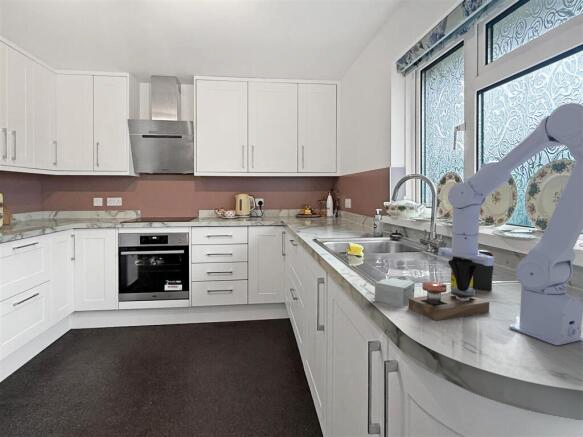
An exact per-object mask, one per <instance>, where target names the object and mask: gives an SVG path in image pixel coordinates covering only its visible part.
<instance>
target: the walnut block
mask: <svg viewBox="0 0 583 437" xmlns="http://www.w3.org/2000/svg"><path fill="white" fill-rule="evenodd" d="M407 305H408V307H407V308H408V309H409V310H410V311H413V312H416V313H418V314H420V315H422V316H424V317H427V318H429V319H431V320H433V321H435V322H438V321H446V320H450V319H457V318H461V317H462V318H463V317H468V316H474V315H480V314H482V315H483V314H487V313H490V301H488V300H484V299H482V298H478V297H475V296H474V297H470V299H469V301H465V302H463V301H460V300H457V299H456V295H453V294H451V292H445V293H441V303H440V304H431V303H428V302H427V295H424V296H418V297H415V296H414V298H409V303H408V304H407Z"/></svg>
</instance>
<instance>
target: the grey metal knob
mask: <svg viewBox="0 0 583 437" xmlns="http://www.w3.org/2000/svg"><path fill="white" fill-rule="evenodd" d="M450 293H451V294H453V295H456V299H457V300H460V301H463V302H465V301H469V299H470V297H475V296H476V289H472V288H468V290H459V289H458V288H457V286H455V287H451V286H450Z"/></svg>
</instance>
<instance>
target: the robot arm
mask: <svg viewBox="0 0 583 437" xmlns="http://www.w3.org/2000/svg"><path fill="white" fill-rule="evenodd" d="M560 146H565V147H566V148H567V149H568V150H569V152H570V154H571V155H572V156H573V158H574V160H575V161H576V162H575V163H574V164H575V165H574V167H573V169H572V171H571V173H570V175H569V177H568V179H567V182H566V184H565V186H564V187H563V188H564V189H563V191H562V192H561V194H560V196H559V199H558V201H557V204H556V206H555V207H554V210H553V212H552V214H551V216H550V219H549V220H548V223H547V225H546V226H545V227H546V228H545V229H544V231H543V233H542V236H541V238H540V239H539V241H537V243H536V244H534V245H533V246H532V247H531V248H530V249H529V251H528V253H527V254H526V256H525V257H524V258H523V259H521V260H520V261H518V263H517V265H516V266H515V277H516V279H517V281H518V282H519V284H520V285H521V287H520V288H521V289H520V291H521V292H520V308H519V309H520V310H519V323H514V324H509V325H508V327H509V329H512V330H515V331H517V332H520V333H522V334H525V335H528V336H530V337H533V338H535V339H537V340H541V341H543V342H545V343H549V344H550V345H553V346H560V345H561V346H562V345H565V344H570V343H574V342H579V341H582V340H583V336H582V323H583V305H582V302H581V300H580V299H579V298H577V297H575V296H572V295H570V294H569V293H567V287H566V283H568V282H569V281H570V280H571V278H572V277H573V273H574V268H573V263H574V260H575V258H576V253H575V251H574V248H575V247H576V243H577V241H578V240H579V238H580V236H581V234H582V232H583V105H582V104H580V103H576V102H569V103H565V104H562V105H560V106H558V107H557V108H555V109H554V110H553V111H552V112H550V115H547V116H545V117H543V118H542V119H540V121H539V123H538V124H537V125H536V127H535V128H534V129H533V130H531V132H529V133H528V134H527V135H526V136H525V137H523V139H522V140H520V141H519V142H518V143H517V144H516V145H515V146H513V148H512V149H510V150H509V151H508V152H507V153H506V154H505V155H504V156H502V157H501V158H500V159H499V160H498V161H497V160H490V161H488V162H483V163H482V164H481V165H480V169H479V170H478V171H476V172H475V173H474V174H472V175H471V176H468V177H466V178H465V180H464V182H458V183H455V184H454V185H453V186H452V187H451V188H450V189H449V192H448V194H447V195H448V196H447V197H448V202H449V203H450V205H451V206H452V222H451V224H452V228H451V229H452V231H451V232H452V233H451V248H450V247H438V256H439V257H440V256H441V257H442V256H443V257H449V258H452V259H449V260H448V265H449V267H450V268H451V269H452V271H453V273H454V276H455V279H456V284H457V288H458V289H459V290H468V288H469V285H470V282H471V279H472V277H473V275H474V273H475V272H476V270H477V269H478V267H479V266H480V264H484V265H485V266H493V265H494V266H495V256H494V257H492V256H488V255H484V254H481V253H479V252H478V250H479V232H480V231H479V229H480V228H479V227H480V214H481V208H482V206H483V205H484V204H485V202H486V200H487V197H490V195H491V194H493V193H494V192H495V191H497V190H498V189H500V188H501V187H502V186H504V185H505V184H506V183H508V182H509V181H510V179H511V174H512V172H513V171H515V170H516V169H517V168H519V167H520V166H522V165H523V164H525V163H526V162H528V161H529V160H530V159H532V158H533V157H535V156H536V155H538V154H540V153H541V152H542V151H544V150H545V149H548V148H554V147H560ZM473 259H474V260H473ZM451 269H450V270H451Z"/></svg>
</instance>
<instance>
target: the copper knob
mask: <svg viewBox="0 0 583 437" xmlns="http://www.w3.org/2000/svg"><path fill="white" fill-rule="evenodd" d="M421 289H422V291H426V296H427V302H428V303H431V304H440V303H441V294H444V293H447V284H446V283H442V282H438V281H424V282H422V287H421Z"/></svg>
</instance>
